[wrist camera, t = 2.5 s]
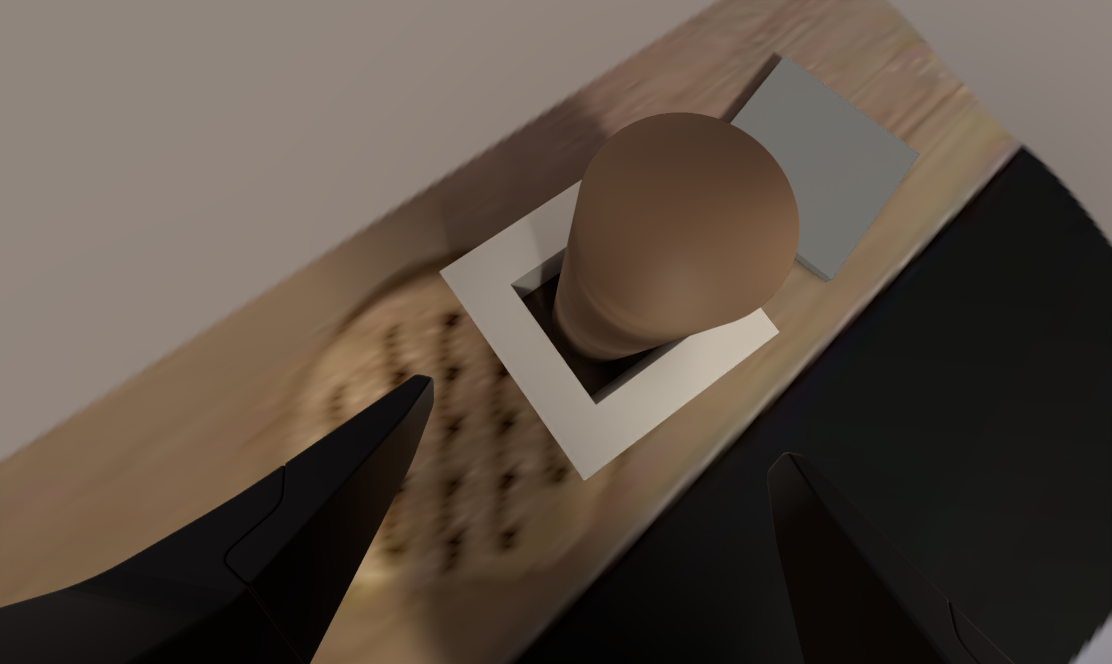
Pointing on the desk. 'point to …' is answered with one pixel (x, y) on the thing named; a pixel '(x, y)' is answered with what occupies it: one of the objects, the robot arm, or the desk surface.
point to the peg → (672, 237)
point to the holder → (542, 374)
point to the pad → (825, 161)
